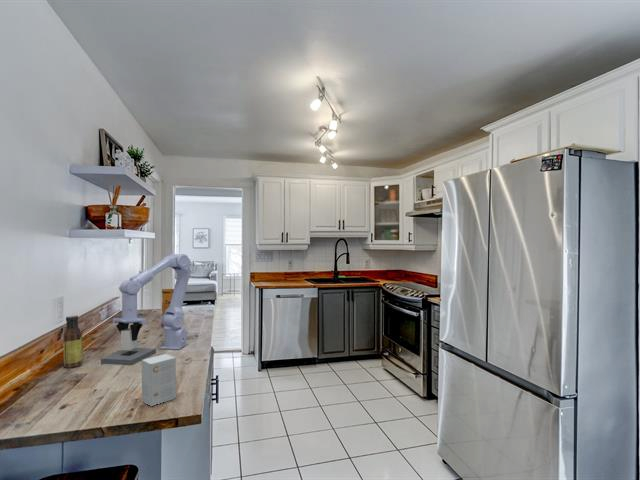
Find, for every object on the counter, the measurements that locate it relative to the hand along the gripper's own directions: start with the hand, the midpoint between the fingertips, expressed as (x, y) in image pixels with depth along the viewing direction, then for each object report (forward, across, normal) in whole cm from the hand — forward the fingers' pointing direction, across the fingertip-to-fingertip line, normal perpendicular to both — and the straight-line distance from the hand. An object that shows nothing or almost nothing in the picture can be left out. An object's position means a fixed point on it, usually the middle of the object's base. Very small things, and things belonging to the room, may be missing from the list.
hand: (129, 340), depth 152 cm
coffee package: (+8, -17, +61) cm, 64 cm away
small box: (+8, +37, -36) cm, 52 cm away
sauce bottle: (+8, -16, -12) cm, 21 cm away
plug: (+3, 0, 0) cm, 3 cm away
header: (+8, 0, 0) cm, 8 cm away
